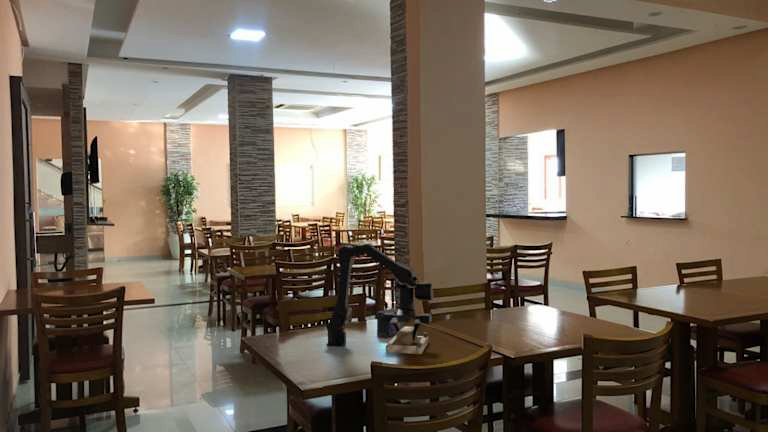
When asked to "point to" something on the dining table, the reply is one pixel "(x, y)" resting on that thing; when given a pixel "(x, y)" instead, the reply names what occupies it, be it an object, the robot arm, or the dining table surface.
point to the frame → (405, 336)
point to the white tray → (418, 349)
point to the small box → (386, 325)
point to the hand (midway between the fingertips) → (407, 339)
